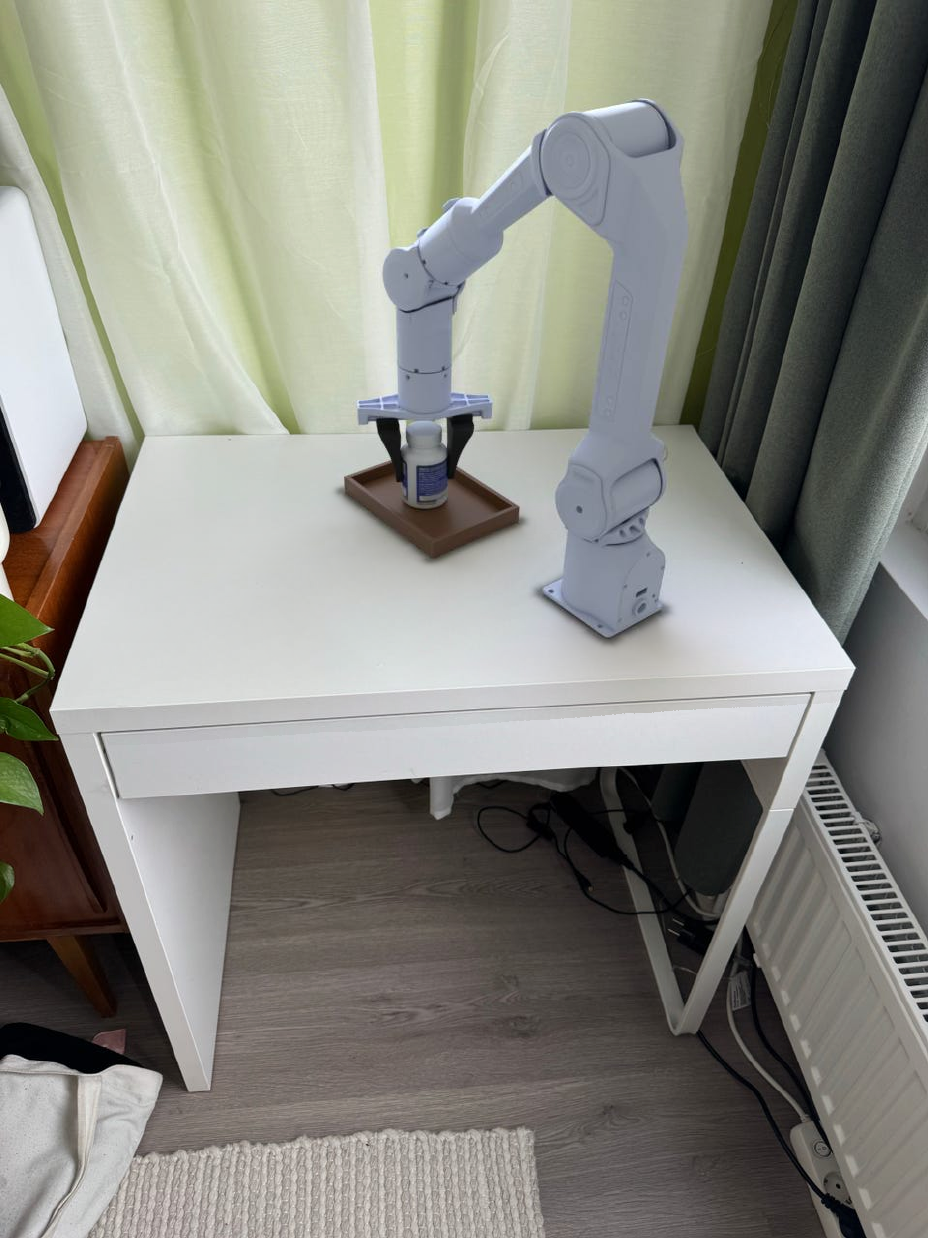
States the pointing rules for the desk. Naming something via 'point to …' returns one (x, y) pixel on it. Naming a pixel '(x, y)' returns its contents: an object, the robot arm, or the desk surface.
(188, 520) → the desk surface
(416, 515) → the tray
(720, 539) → the desk surface
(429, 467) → the pill bottle
